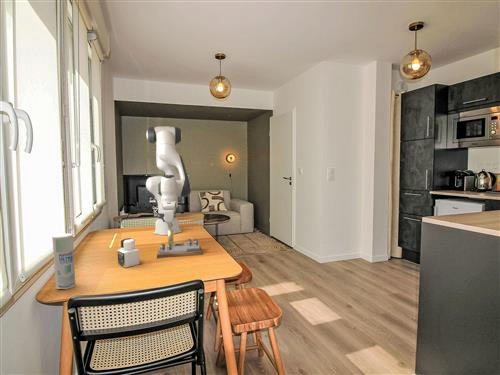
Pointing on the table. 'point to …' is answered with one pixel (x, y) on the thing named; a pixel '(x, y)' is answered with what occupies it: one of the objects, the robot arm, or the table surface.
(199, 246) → the chain base
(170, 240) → the pin
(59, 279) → the spray can
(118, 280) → the table surface
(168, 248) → the chain end left
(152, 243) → the table surface
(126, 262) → the medicine bottle
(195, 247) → the chain end right
